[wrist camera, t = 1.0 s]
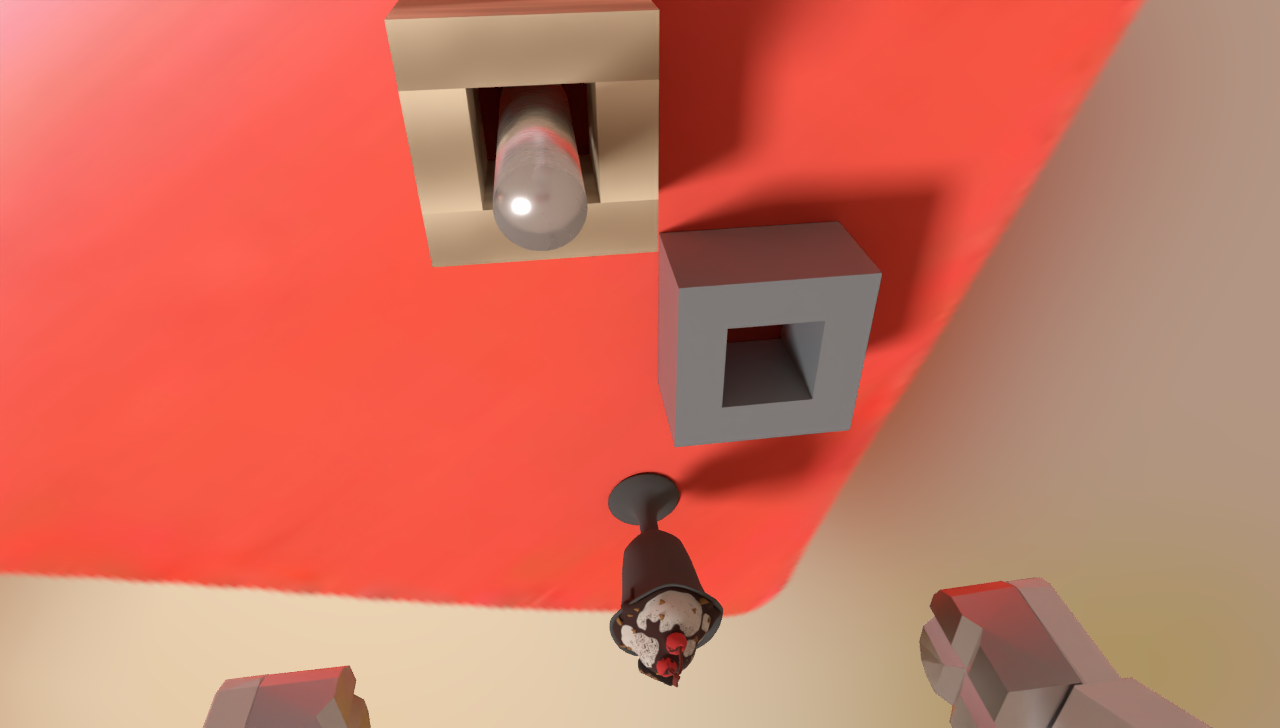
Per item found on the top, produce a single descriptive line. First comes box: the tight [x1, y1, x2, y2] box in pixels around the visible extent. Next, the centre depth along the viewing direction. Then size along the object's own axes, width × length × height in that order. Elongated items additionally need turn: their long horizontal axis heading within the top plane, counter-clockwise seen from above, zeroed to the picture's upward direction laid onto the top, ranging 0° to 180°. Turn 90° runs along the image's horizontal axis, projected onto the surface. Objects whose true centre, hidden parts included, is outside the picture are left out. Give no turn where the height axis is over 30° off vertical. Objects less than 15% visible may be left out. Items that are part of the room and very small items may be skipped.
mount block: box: [385, 0, 659, 267], centre depth 32 cm, size 10×10×6 cm
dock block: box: [658, 221, 882, 447], centre depth 40 cm, size 10×10×6 cm
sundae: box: [608, 474, 723, 687], centre depth 45 cm, size 7×7×15 cm
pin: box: [493, 84, 588, 251], centre depth 30 cm, size 3×3×12 cm
